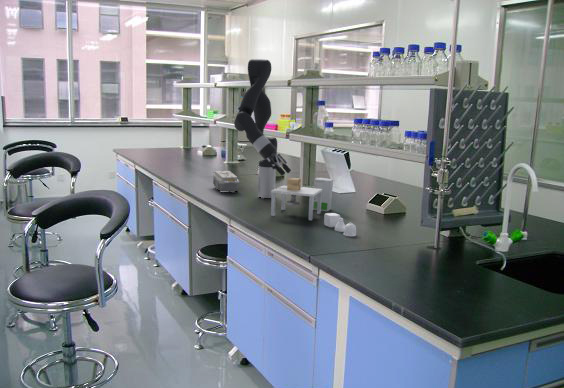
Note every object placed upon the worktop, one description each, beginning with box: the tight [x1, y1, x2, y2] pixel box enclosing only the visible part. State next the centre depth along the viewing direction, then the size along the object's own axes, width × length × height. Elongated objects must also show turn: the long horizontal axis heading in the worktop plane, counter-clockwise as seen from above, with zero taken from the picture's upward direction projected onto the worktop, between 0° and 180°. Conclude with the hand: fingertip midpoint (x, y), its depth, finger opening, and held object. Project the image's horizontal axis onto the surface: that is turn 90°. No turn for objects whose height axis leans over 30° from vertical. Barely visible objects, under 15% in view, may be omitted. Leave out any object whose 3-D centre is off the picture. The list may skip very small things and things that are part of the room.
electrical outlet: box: [212, 170, 240, 192], centre depth 296 cm, size 12×28×10 cm, turn 21°
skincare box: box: [313, 177, 334, 213], centre depth 251 cm, size 8×7×16 cm
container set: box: [323, 212, 357, 237], centre depth 213 cm, size 20×5×6 cm, turn 24°
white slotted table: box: [270, 185, 322, 221], centre depth 238 cm, size 16×20×12 cm
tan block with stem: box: [286, 177, 302, 206], centre depth 238 cm, size 6×6×12 cm
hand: (286, 173), depth 237 cm, fingers open, 8 cm apart
